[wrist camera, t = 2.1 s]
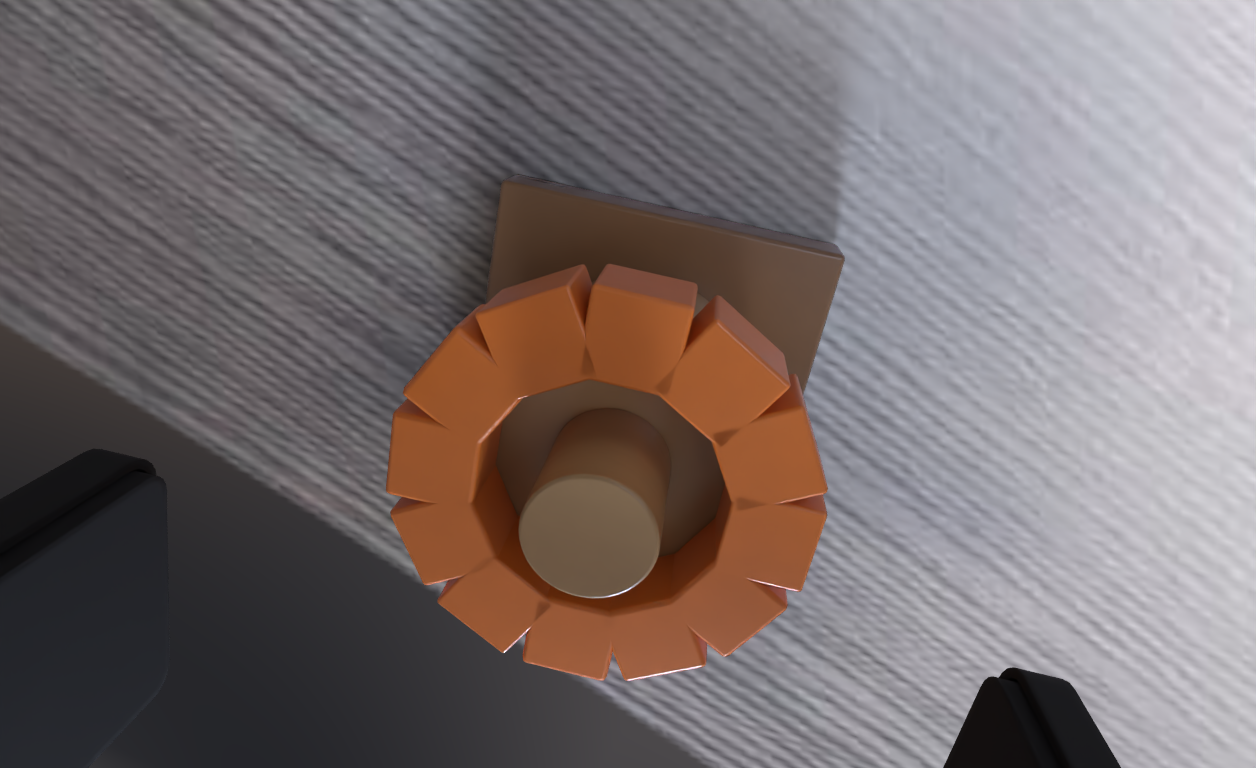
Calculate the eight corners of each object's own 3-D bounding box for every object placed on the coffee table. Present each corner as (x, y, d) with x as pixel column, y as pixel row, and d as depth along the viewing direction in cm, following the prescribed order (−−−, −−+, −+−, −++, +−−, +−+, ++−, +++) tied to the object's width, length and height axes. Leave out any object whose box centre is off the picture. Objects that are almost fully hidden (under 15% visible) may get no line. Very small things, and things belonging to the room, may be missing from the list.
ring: (441, 224, 12) (406, 241, 11) (867, 320, 12) (884, 350, 10) (403, 577, 14) (371, 626, 13) (755, 663, 14) (757, 721, 13)
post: (515, 172, 17) (362, 237, 10) (839, 244, 17) (922, 364, 9) (475, 460, 19) (330, 674, 12) (753, 525, 19) (769, 783, 12)
